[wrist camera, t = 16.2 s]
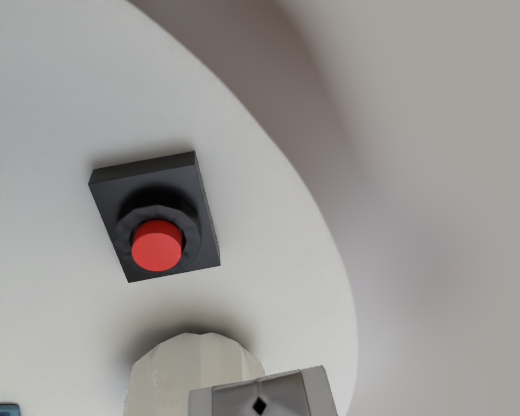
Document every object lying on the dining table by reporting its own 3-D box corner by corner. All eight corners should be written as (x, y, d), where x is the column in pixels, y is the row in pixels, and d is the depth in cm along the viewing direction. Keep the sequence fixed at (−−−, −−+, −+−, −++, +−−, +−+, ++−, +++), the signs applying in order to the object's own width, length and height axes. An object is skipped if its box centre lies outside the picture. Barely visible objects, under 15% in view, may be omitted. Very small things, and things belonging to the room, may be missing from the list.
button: (128, 224, 36) (125, 238, 34) (175, 215, 36) (174, 229, 34) (141, 260, 38) (139, 275, 36) (186, 252, 38) (186, 266, 36)
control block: (92, 169, 37) (82, 196, 34) (194, 150, 37) (194, 176, 34) (131, 266, 42) (125, 298, 39) (219, 249, 43) (221, 279, 39)
